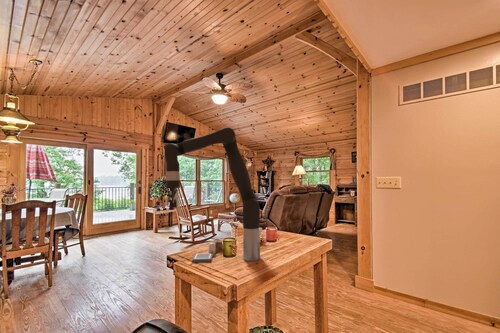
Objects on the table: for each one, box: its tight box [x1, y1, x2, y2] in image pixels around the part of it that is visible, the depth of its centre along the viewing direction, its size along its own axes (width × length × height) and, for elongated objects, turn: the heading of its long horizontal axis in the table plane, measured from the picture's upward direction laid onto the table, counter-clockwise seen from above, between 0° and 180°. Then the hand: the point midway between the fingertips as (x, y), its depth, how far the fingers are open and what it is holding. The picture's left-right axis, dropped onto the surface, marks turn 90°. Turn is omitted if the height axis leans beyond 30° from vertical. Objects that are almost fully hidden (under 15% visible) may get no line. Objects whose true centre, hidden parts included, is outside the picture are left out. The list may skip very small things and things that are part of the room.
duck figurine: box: [260, 227, 265, 240], centre depth 168 cm, size 12×8×11 cm
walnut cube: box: [213, 239, 224, 252], centre depth 152 cm, size 6×6×6 cm
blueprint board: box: [191, 252, 214, 263], centre depth 136 cm, size 10×10×2 cm
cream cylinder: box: [208, 241, 216, 255], centre depth 145 cm, size 4×4×6 cm
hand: (173, 208), depth 136 cm, fingers open, 8 cm apart
